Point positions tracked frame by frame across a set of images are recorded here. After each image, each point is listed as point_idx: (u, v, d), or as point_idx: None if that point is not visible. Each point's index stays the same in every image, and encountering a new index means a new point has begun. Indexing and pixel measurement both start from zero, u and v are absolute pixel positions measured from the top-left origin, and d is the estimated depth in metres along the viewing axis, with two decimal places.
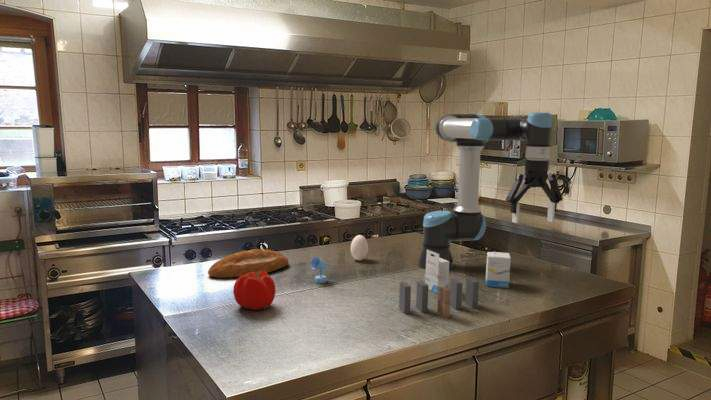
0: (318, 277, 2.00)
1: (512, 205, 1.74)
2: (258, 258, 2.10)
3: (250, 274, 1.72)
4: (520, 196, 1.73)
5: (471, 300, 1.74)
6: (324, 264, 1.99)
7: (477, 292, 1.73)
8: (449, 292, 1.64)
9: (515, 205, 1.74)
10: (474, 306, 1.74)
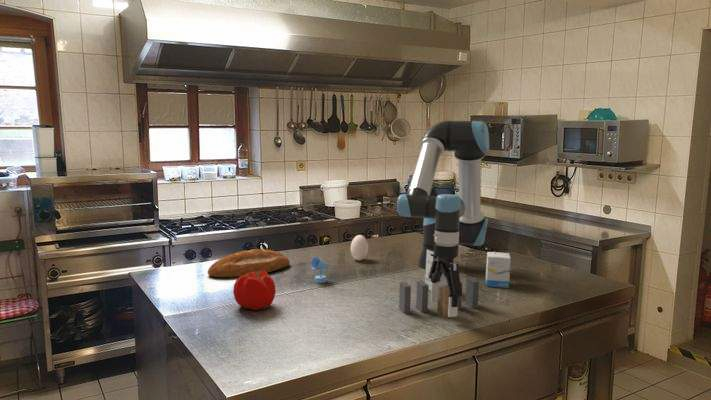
0: (318, 277, 2.00)
1: None
2: (258, 258, 2.10)
3: (250, 274, 1.72)
4: (433, 276, 1.71)
5: (471, 300, 1.74)
6: (324, 264, 1.99)
7: (477, 292, 1.73)
8: (449, 292, 1.64)
9: None
10: (474, 306, 1.74)
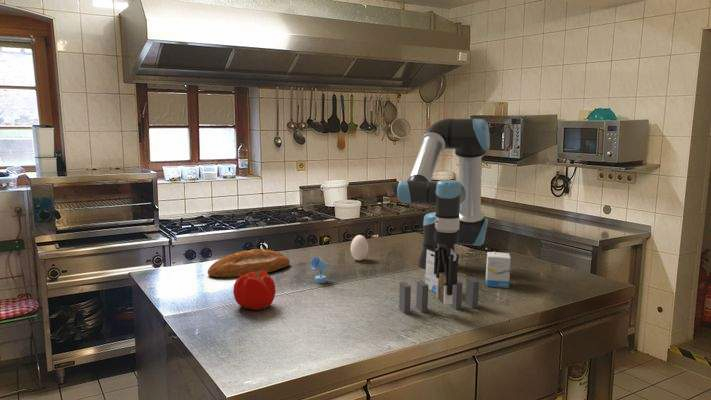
0: (318, 277, 2.00)
1: None
2: (258, 258, 2.10)
3: (250, 274, 1.72)
4: (437, 269, 1.68)
5: (471, 300, 1.74)
6: (324, 264, 1.99)
7: (477, 292, 1.73)
8: None
9: None
10: (474, 306, 1.74)
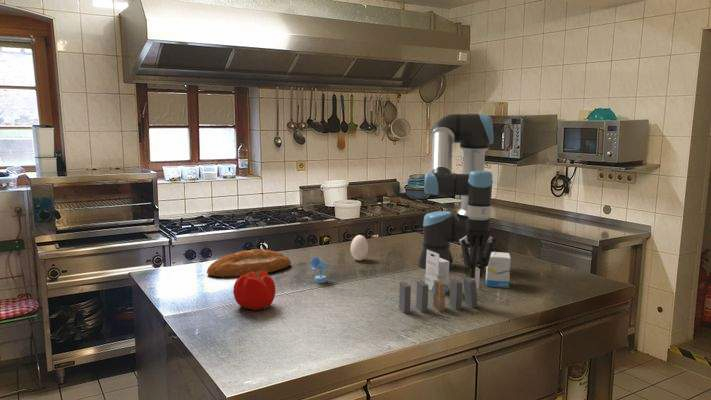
0: (318, 277, 2.00)
1: (471, 270, 1.74)
2: (258, 258, 2.10)
3: (250, 274, 1.72)
4: (474, 260, 1.73)
5: (470, 300, 1.74)
6: (324, 264, 1.99)
7: (475, 292, 1.73)
8: (444, 286, 1.70)
9: (474, 270, 1.74)
10: (474, 306, 1.74)
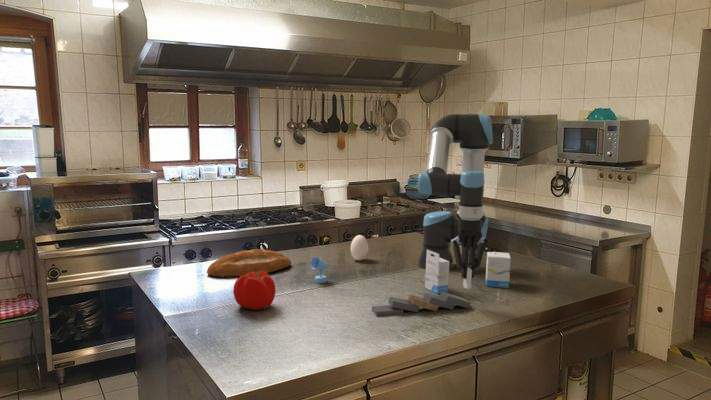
0: (318, 277, 2.00)
1: (462, 271, 1.73)
2: (258, 258, 2.10)
3: (250, 274, 1.72)
4: (466, 260, 1.72)
5: None
6: (324, 264, 1.99)
7: (456, 299, 1.72)
8: (416, 300, 1.68)
9: (465, 271, 1.73)
10: (468, 306, 1.73)
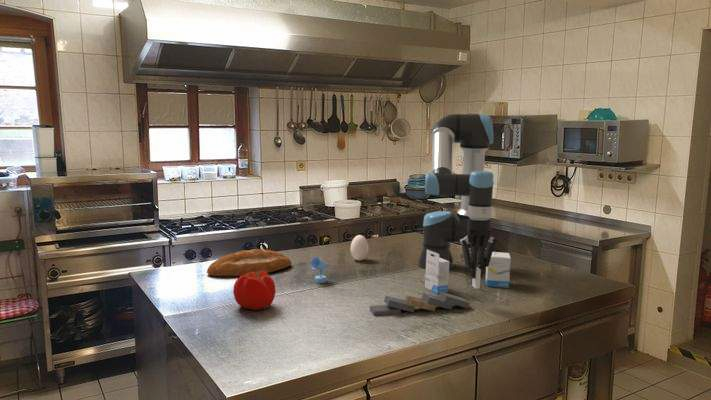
0: (318, 277, 2.00)
1: (471, 270, 1.74)
2: (258, 258, 2.10)
3: (250, 274, 1.72)
4: (475, 260, 1.73)
5: None
6: (324, 264, 1.99)
7: (455, 300, 1.72)
8: (413, 301, 1.68)
9: (474, 270, 1.74)
10: (467, 306, 1.73)
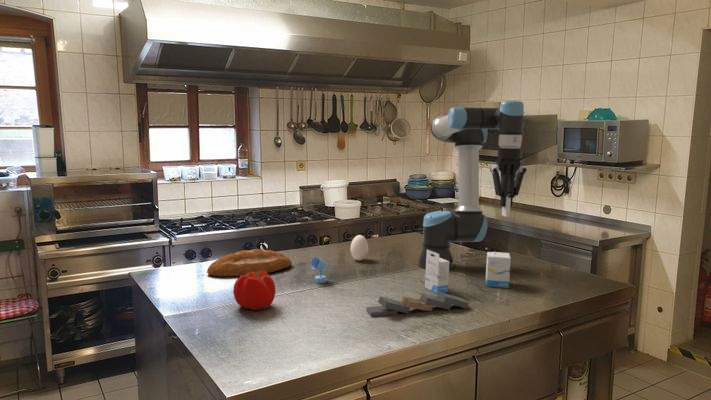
0: (318, 277, 2.00)
1: (502, 199, 1.79)
2: (258, 258, 2.10)
3: (250, 274, 1.72)
4: (505, 188, 1.77)
5: None
6: (324, 264, 1.99)
7: (454, 300, 1.71)
8: (411, 302, 1.67)
9: (504, 199, 1.78)
10: (466, 306, 1.73)
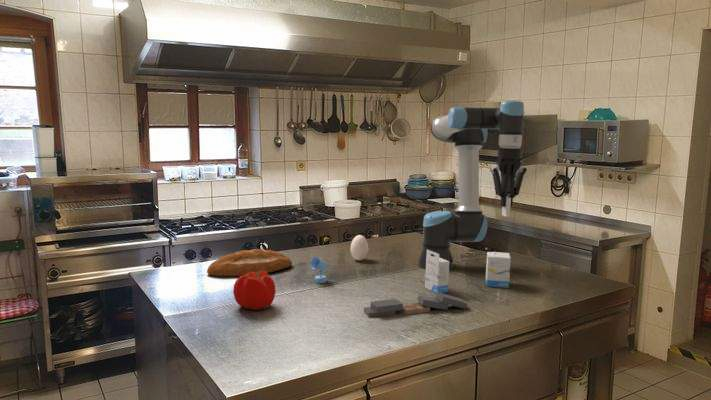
0: (318, 277, 2.00)
1: (502, 199, 1.79)
2: (257, 258, 2.10)
3: (250, 274, 1.72)
4: (505, 188, 1.77)
5: None
6: (324, 264, 1.99)
7: (452, 300, 1.71)
8: (407, 311, 1.67)
9: (505, 199, 1.78)
10: (464, 306, 1.72)
